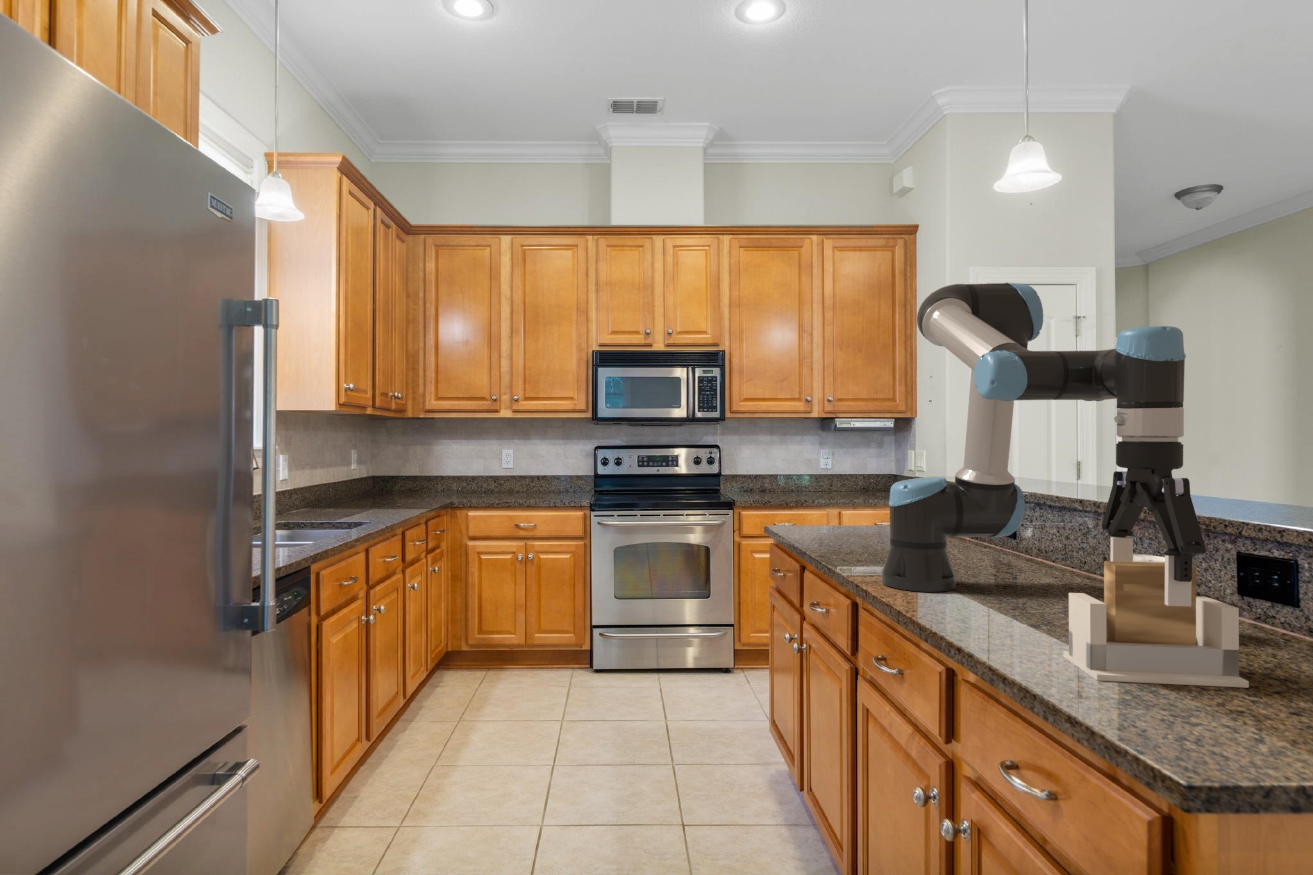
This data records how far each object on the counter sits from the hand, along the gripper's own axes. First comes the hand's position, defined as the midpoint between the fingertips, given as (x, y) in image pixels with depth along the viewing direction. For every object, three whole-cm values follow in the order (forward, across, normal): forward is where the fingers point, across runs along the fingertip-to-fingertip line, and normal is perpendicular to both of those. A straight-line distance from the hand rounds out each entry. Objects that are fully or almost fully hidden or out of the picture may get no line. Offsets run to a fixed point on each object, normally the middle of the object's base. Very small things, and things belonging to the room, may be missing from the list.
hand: (1147, 592), depth 93 cm
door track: (+11, +1, 0) cm, 11 cm away
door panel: (+10, 0, 0) cm, 10 cm away
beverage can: (+11, -21, +11) cm, 27 cm away
